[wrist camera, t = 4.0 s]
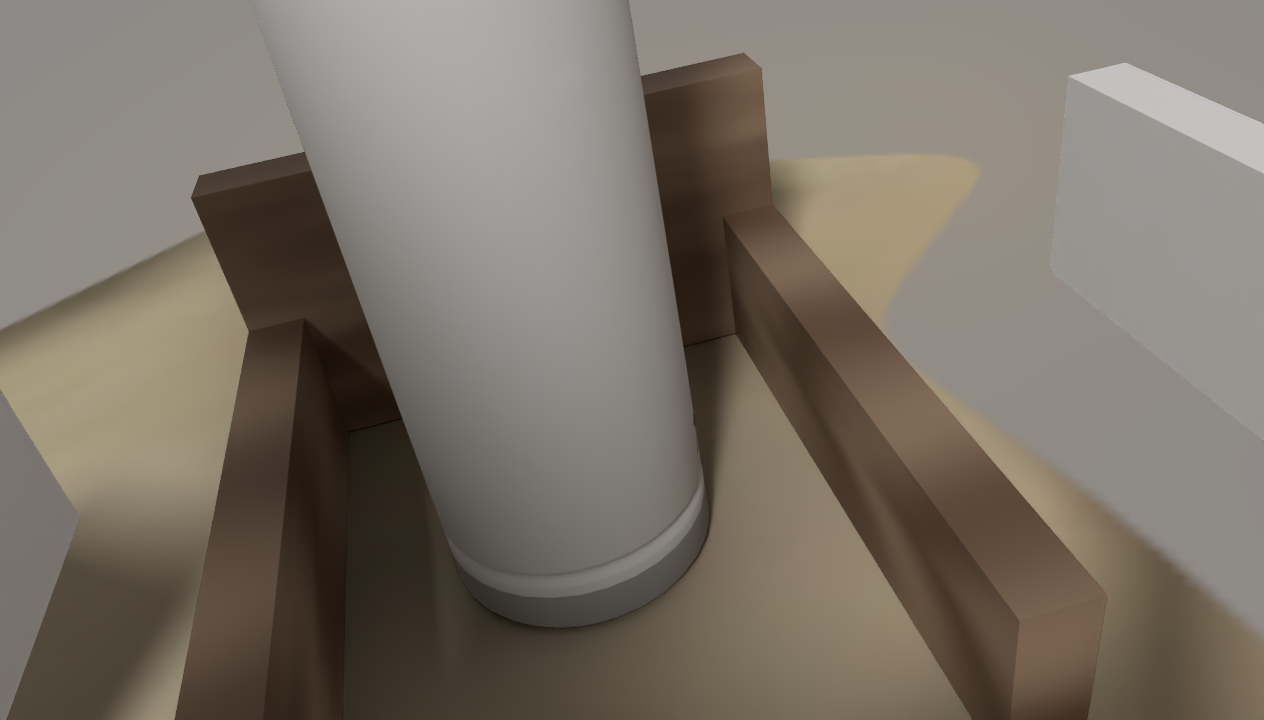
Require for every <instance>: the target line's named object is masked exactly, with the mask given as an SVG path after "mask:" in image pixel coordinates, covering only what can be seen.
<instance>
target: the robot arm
mask: <svg viewBox="0 0 1264 720" xmlns="http://www.w3.org/2000/svg"><path fill="white" fill-rule="evenodd" d="M1050 271H1051V272H1052V273H1053V274H1054V275H1056V276H1057V277H1058V278H1059V279H1061V280H1062V281H1063V282H1065V283H1066V284H1067V285H1068V286H1069V287H1071V288H1072V289H1073V290H1074V291H1076V292H1077V293H1078V294H1079V295H1081V296H1082V297H1083V298H1084V299H1086V300H1087V301H1088V302H1089V303H1091V304H1092V305H1093V306H1095V307H1096V308H1097V309H1098V310H1100V311H1101V312H1102V313H1103V314H1104V315H1106V316H1107V317H1108V318H1109V319H1111V320H1112V321H1113V322H1114V323H1116V324H1117V325H1118V326H1119V327H1121V328H1122V329H1123V330H1124V331H1126V332H1127V333H1128V334H1129V335H1131V336H1132V337H1133V338H1134V339H1136V340H1137V341H1138V342H1140V343H1141V344H1142V345H1143V346H1145V347H1146V348H1147V349H1148V350H1150V351H1151V352H1152V353H1153V354H1155V355H1156V356H1157V357H1158V358H1160V359H1161V360H1162V361H1163V362H1165V363H1166V364H1167V365H1168V366H1170V367H1171V368H1172V369H1173V370H1175V371H1176V372H1177V373H1178V374H1180V375H1181V376H1182V377H1183V378H1185V379H1186V380H1187V381H1188V382H1190V383H1191V384H1192V385H1193V386H1195V387H1196V388H1197V389H1198V390H1200V391H1201V392H1202V393H1203V394H1205V395H1206V396H1207V397H1208V398H1210V399H1211V400H1212V401H1213V402H1215V403H1216V404H1217V405H1218V406H1220V407H1221V408H1222V409H1223V410H1225V411H1226V412H1227V413H1228V414H1230V415H1231V416H1232V417H1234V418H1235V419H1236V420H1237V421H1239V422H1240V423H1241V424H1242V425H1244V426H1245V427H1246V428H1247V429H1249V430H1250V431H1251V432H1252V433H1253V434H1255V435H1256V436H1257V437H1259V438H1260V439H1261V440H1262V441H1263V442H1264V124H1262V123H1260V122H1258V121H1256V120H1253V119H1251V118H1249V117H1247V116H1244V115H1242V114H1240V113H1238V112H1235V111H1233V110H1231V109H1229V108H1226V107H1224V106H1222V105H1220V104H1217V103H1215V102H1213V101H1211V100H1208V99H1206V98H1204V97H1202V96H1199V95H1197V94H1195V93H1193V92H1190V91H1188V90H1186V89H1184V88H1181V87H1179V86H1177V85H1175V84H1172V83H1170V82H1168V81H1166V80H1163V79H1161V78H1159V77H1156V76H1154V75H1152V74H1150V73H1148V72H1145V71H1143V70H1141V69H1139V68H1136V67H1134V66H1132V65H1130V64H1127V63H1123V64H1118V65H1114V66H1110V67H1105V68H1101V69H1097V70H1092V71H1088V72H1084V73H1080V74H1076V75H1072V76H1068V87H1067V96H1066V107H1065V117H1064V129H1063V140H1062V149H1061V161H1060V171H1059V181H1058V192H1057V202H1056V213H1055V224H1054V235H1053V245H1052V255H1051V267H1050ZM79 519H80V517H79V515H78V514H77V512H76V510H75V509H74V507H73V506H72V504H71V502H70V501H69V499H68V498H67V496H66V494H65V493H64V491H63V490H62V488H61V486H60V485H59V483H58V482H57V480H56V478H55V477H54V475H53V474H52V472H51V470H50V469H49V467H48V466H47V464H46V462H45V461H44V459H43V457H42V456H41V454H40V453H39V451H38V449H37V448H36V446H35V445H34V443H33V441H32V440H31V438H30V437H29V435H28V433H27V432H26V430H25V429H24V427H23V425H22V424H21V422H20V421H19V419H18V417H17V416H16V414H15V413H14V411H13V409H12V408H11V406H10V404H9V403H8V401H7V400H6V398H5V396H4V395H3V393H2V392H1V390H0V720H7V717H8V714H9V711H10V709H11V706H12V703H13V700H14V698H15V695H16V692H17V689H18V687H19V684H20V681H21V678H22V676H23V673H24V670H25V667H26V665H27V662H28V659H29V656H30V654H31V651H32V648H33V646H34V643H35V640H36V637H37V635H38V632H39V629H40V626H41V624H42V621H43V618H44V615H45V613H46V610H47V607H48V604H49V602H50V599H51V596H52V593H53V591H54V588H55V585H56V582H57V580H58V577H59V574H60V572H61V569H62V566H63V563H64V561H65V558H66V555H67V552H68V550H69V547H70V544H71V541H72V539H73V536H74V533H75V530H76V528H77V525H78V522H79Z"/></svg>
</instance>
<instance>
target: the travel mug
mask: <svg viewBox="0 0 1264 720" xmlns="http://www.w3.org/2000/svg"><path fill="white" fill-rule="evenodd" d="M249 1H250V4H251V6H252V9H253V12H254V15H255V17H256V20H257V23H258V25H259V28H260V31H261V34H262V36H263V39H264V42H265V45H266V47H267V50H268V53H269V56H270V58H271V61H272V63H273V66H274V69H275V72H276V74H277V77H278V80H279V83H280V85H281V88H282V91H283V94H284V96H285V99H286V102H287V105H288V107H289V110H290V113H291V116H292V118H293V121H294V124H295V126H296V129H297V132H298V135H299V137H300V140H301V143H302V145H303V148H304V151H305V154H306V157H307V159H308V162H309V165H310V167H311V170H312V173H313V176H314V178H315V181H316V184H317V187H318V189H319V192H320V195H321V197H322V200H323V203H324V206H325V208H326V211H327V214H328V217H329V219H330V222H331V225H332V227H333V230H334V233H335V236H336V238H337V241H338V244H339V247H340V249H341V252H342V255H343V258H344V260H345V263H346V266H347V268H348V271H349V274H350V277H351V279H352V282H353V285H354V288H355V290H356V293H357V296H358V298H359V301H360V304H361V307H362V309H363V312H364V315H365V318H366V320H367V323H368V326H369V328H370V331H371V334H372V337H373V339H374V342H375V345H376V348H377V350H378V353H379V356H380V358H381V361H382V364H383V367H384V369H385V372H386V375H387V378H388V380H389V383H390V386H391V389H392V391H393V394H394V397H395V399H396V402H397V405H398V408H399V410H400V413H401V416H402V419H403V421H404V424H405V427H406V429H407V432H408V435H409V438H410V440H411V443H412V446H413V449H414V451H415V454H416V457H417V459H418V462H419V465H420V468H421V470H422V473H423V476H424V479H425V481H426V484H427V487H428V490H429V492H430V495H431V498H432V500H433V503H434V506H435V509H436V511H437V514H438V517H439V520H440V522H441V525H442V528H443V530H444V533H445V536H446V539H447V541H448V544H449V547H450V550H451V552H452V555H453V558H454V560H455V563H456V566H457V569H458V571H459V574H460V577H461V580H462V582H463V584H464V585H465V586H466V588H467V589H468V590H469V592H470V593H471V594H472V596H473V597H474V598H475V599H476V600H478V601H479V602H480V603H481V604H483V605H484V606H485V607H486V608H488V609H489V610H491V611H493V612H495V613H497V614H499V615H501V616H504V617H506V618H508V619H510V620H512V621H516V622H520V623H524V624H529V625H533V626H538V627H556V628H566V627H576V626H586V625H592V624H595V623H599V622H603V621H607V620H611V619H615V618H617V617H620V616H622V615H624V614H627V613H629V612H631V611H634V610H636V609H638V608H641V607H642V606H644V605H646V604H647V603H649V602H650V601H652V600H654V599H655V598H657V597H658V596H660V595H662V594H663V593H664V592H665V591H666V590H667V589H669V588H670V587H671V586H672V585H673V584H674V583H675V582H676V581H678V580H679V579H680V578H681V577H682V575H683V574H684V573H685V572H686V570H687V569H688V568H689V566H690V565H691V564H692V562H693V561H694V560H695V558H696V557H697V555H698V553H699V551H700V549H701V547H702V545H703V542H704V540H705V538H706V533H707V528H708V523H709V511H708V500H707V494H706V488H705V481H704V475H703V469H702V464H701V462H700V450H699V443H698V437H697V431H696V424H695V418H694V412H693V405H692V399H691V393H690V386H689V380H688V374H687V367H686V361H685V355H684V348H683V342H682V336H681V329H680V323H679V317H678V310H677V304H676V298H675V291H674V285H673V279H672V272H671V266H670V260H669V253H668V247H667V241H666V234H665V228H664V221H663V215H662V209H661V202H660V196H659V190H658V183H657V177H656V171H655V164H654V158H653V152H652V145H651V139H650V133H649V126H648V120H647V114H646V107H645V101H644V95H643V88H642V82H641V76H640V69H639V63H638V57H637V50H636V44H635V38H634V31H633V25H632V19H631V13H630V6H629V0H249Z"/></svg>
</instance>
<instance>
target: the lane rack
mask: <svg viewBox="0 0 1264 720" xmlns="http://www.w3.org/2000/svg"><path fill="white" fill-rule="evenodd" d="M641 82H642V88H643V95H644V101H645V107H646V114H647V120H648V126H649V133H650V139H651V145H652V152H653V158H654V164H655V171H656V177H657V183H658V190H659V196H660V202H661V209H662V215H663V221H664V228H665V234H666V241H667V247H668V253H669V260H670V266H671V272H672V279H673V285H674V291H675V298H676V304H677V310H678V317H679V323H680V329H681V336H682V342H683V346H687V345H691V344H695V343H699V342H702V341H706V340H710V339H714V338H718V337H722V336H726V335H730V334H734V333H736V335H737V336H738V338H739V340H740V341H741V343H742V344H743V346H744V348H745V349H746V351H747V353H748V354H749V356H750V357H751V359H752V361H753V362H754V364H755V366H756V367H757V369H758V370H759V372H760V374H761V375H762V377H763V379H764V380H765V382H766V383H767V385H768V387H769V388H770V390H771V392H772V393H773V395H774V396H775V398H776V400H777V401H778V403H779V405H780V406H781V408H782V410H783V411H784V413H785V414H786V416H787V418H788V419H789V421H790V423H791V424H792V426H793V427H794V429H795V431H796V432H797V434H798V436H799V437H800V439H801V440H802V442H803V444H804V445H805V447H806V449H807V450H808V452H809V453H810V455H811V457H812V458H813V460H814V462H815V463H816V465H817V467H818V468H819V470H820V471H821V473H822V475H823V476H824V478H825V480H826V481H827V483H828V484H829V486H830V488H831V489H832V491H833V493H834V494H835V496H836V497H837V499H838V501H839V502H840V504H841V506H842V507H843V509H844V510H845V512H846V514H847V515H848V517H849V519H850V520H851V522H852V523H853V525H854V527H855V528H856V530H857V532H858V533H859V535H860V537H861V538H862V540H863V541H864V543H865V545H866V546H867V548H868V550H869V551H870V553H871V554H872V556H873V558H874V559H875V561H876V563H877V564H878V566H879V567H880V569H881V571H882V572H883V574H884V576H885V577H886V579H887V580H888V582H889V584H890V585H891V587H892V589H893V590H894V592H895V594H896V595H897V597H898V598H899V600H900V602H901V603H902V605H903V607H904V608H905V610H906V611H907V613H908V615H909V616H910V618H911V620H912V621H913V623H914V624H915V626H916V628H917V629H918V631H919V633H920V634H921V636H922V637H923V639H924V641H925V642H926V644H927V646H928V647H929V649H930V650H931V652H932V654H933V655H934V657H935V659H936V660H937V662H938V664H939V665H940V667H941V668H942V670H943V672H944V673H945V675H946V677H947V678H948V680H949V681H950V683H951V685H952V686H953V688H954V690H955V691H956V693H957V694H958V696H959V698H960V699H961V701H962V703H963V704H964V706H965V707H966V709H967V711H968V712H969V714H970V716H971V717H972V719H973V720H1087V717H1088V711H1089V705H1090V699H1091V692H1092V686H1093V680H1094V674H1095V668H1096V662H1097V656H1098V650H1099V644H1100V638H1101V632H1102V625H1103V619H1104V613H1105V607H1106V601H1107V594H1106V593H1105V592H1104V590H1103V589H1102V588H1101V587H1100V586H1099V585H1098V583H1097V582H1096V581H1095V580H1094V579H1093V578H1092V577H1091V575H1090V574H1089V573H1088V572H1087V571H1086V570H1085V568H1084V567H1083V566H1082V565H1081V564H1080V563H1079V561H1078V560H1077V559H1076V558H1075V557H1074V556H1073V554H1072V553H1071V552H1070V551H1069V550H1068V549H1067V547H1066V546H1065V545H1064V544H1063V543H1062V542H1061V540H1060V539H1059V538H1058V537H1057V536H1056V535H1055V533H1054V532H1053V531H1052V530H1051V529H1050V528H1049V526H1048V525H1047V524H1046V523H1045V522H1044V521H1043V519H1042V518H1041V517H1040V516H1039V515H1038V514H1037V512H1036V511H1035V510H1034V509H1033V508H1032V507H1031V505H1030V504H1029V503H1028V502H1027V501H1026V500H1025V498H1024V497H1023V496H1022V495H1021V494H1020V493H1019V491H1018V490H1017V489H1016V488H1015V487H1014V486H1013V484H1012V483H1011V482H1010V481H1009V480H1008V479H1007V477H1006V476H1005V475H1004V474H1003V473H1002V472H1001V470H1000V469H999V468H998V467H997V466H996V465H995V463H994V462H993V461H992V460H991V459H990V458H989V456H988V455H987V454H986V453H985V452H984V451H983V449H982V448H981V447H980V446H979V445H978V444H977V442H976V441H975V440H974V439H973V438H972V437H971V435H970V434H969V433H968V432H967V431H966V430H965V428H964V427H963V426H962V425H961V424H960V423H959V421H958V420H957V419H956V418H955V417H954V416H953V414H952V413H951V412H950V411H949V410H948V409H947V407H946V406H945V405H944V404H943V403H942V402H941V400H940V399H939V398H938V397H937V396H936V395H935V393H934V392H933V391H932V390H931V389H930V388H929V386H928V385H927V384H926V383H925V382H924V381H923V379H922V378H921V377H920V376H919V375H918V374H917V372H916V371H915V370H914V369H913V368H912V367H911V365H910V364H909V363H908V362H907V361H906V360H905V358H904V357H903V356H902V355H901V354H900V353H899V351H898V350H897V349H896V348H895V347H894V346H893V344H892V343H891V342H890V341H889V340H888V339H887V337H886V336H885V335H884V334H883V333H882V332H881V330H880V329H879V328H878V327H877V326H876V325H875V323H874V322H873V321H872V320H871V319H870V318H869V316H868V315H867V314H866V313H865V312H864V311H863V309H862V308H861V307H860V306H859V305H858V304H857V302H856V301H855V300H854V299H853V298H852V297H851V295H850V294H849V293H848V292H847V291H846V290H845V288H844V287H843V286H842V285H841V284H840V283H839V281H838V280H837V279H836V278H835V277H834V276H833V274H832V273H831V272H830V271H829V270H828V269H827V267H826V266H825V265H824V264H823V263H822V262H821V260H820V259H819V258H818V257H817V256H816V255H815V253H814V252H813V251H812V250H811V249H810V248H809V246H808V245H807V244H806V243H805V242H804V241H803V240H802V238H801V237H800V236H799V235H798V234H797V233H796V231H795V230H794V229H793V228H792V227H791V226H790V224H789V223H788V222H787V221H786V220H785V219H784V217H783V216H782V215H781V214H780V213H779V212H778V210H777V209H776V208H775V207H774V206H773V205H772V193H771V181H770V168H769V156H768V144H767V131H766V118H765V107H764V93H763V82H762V68H761V67H759V65H757V64H756V63H755V62H754V61H753V60H751V59H750V58H749V57H748V56H747V55H745V54H744V53H742V54H737V55H732V56H728V57H724V58H719V59H715V60H710V61H706V62H702V63H697V64H693V65H689V66H684V67H679V68H675V69H671V70H666V71H662V72H658V73H653V74H648V75H644V76H641ZM191 199H192V201H193V203H194V206H195V208H196V210H197V213H198V215H199V217H200V220H201V222H202V224H203V226H204V229H205V231H206V233H207V236H208V238H209V240H210V243H211V245H212V247H213V250H214V252H215V254H216V257H217V259H218V261H219V263H220V266H221V268H222V270H223V273H224V275H225V277H226V280H227V282H228V284H229V286H230V289H231V291H232V293H233V296H234V298H235V300H236V303H237V305H238V307H239V310H240V312H241V314H242V316H243V319H244V321H245V323H246V326H247V328H248V330H249V334H248V339H247V344H246V349H245V355H244V360H243V365H242V370H241V375H240V381H239V386H238V391H237V396H236V402H235V407H234V412H233V417H232V423H231V428H230V433H229V438H228V443H227V449H226V454H225V459H224V464H223V470H222V475H221V480H220V485H219V491H218V496H217V501H216V506H215V511H214V517H213V522H212V527H211V532H210V538H209V543H208V548H207V553H206V559H205V564H204V569H203V574H202V580H201V585H200V590H199V595H198V600H197V606H196V611H195V616H194V621H193V627H192V632H191V637H190V642H189V648H188V653H187V658H186V663H185V668H184V674H183V679H182V684H181V689H180V695H179V700H178V705H177V710H176V716H175V720H342V716H343V671H344V625H345V579H346V534H347V488H348V443H349V432H350V431H354V430H358V429H362V428H366V427H369V426H373V425H377V424H381V423H385V422H389V421H393V420H397V419H401V418H402V416H401V413H400V410H399V408H398V405H397V402H396V399H395V397H394V394H393V391H392V389H391V386H390V383H389V380H388V378H387V375H386V372H385V369H384V367H383V364H382V361H381V358H380V356H379V353H378V350H377V348H376V345H375V342H374V339H373V337H372V334H371V331H370V328H369V326H368V323H367V320H366V318H365V315H364V312H363V309H362V307H361V304H360V301H359V298H358V296H357V293H356V290H355V288H354V285H353V282H352V279H351V277H350V274H349V271H348V268H347V266H346V263H345V260H344V258H343V255H342V252H341V249H340V247H339V244H338V241H337V238H336V236H335V233H334V230H333V227H332V225H331V222H330V219H329V217H328V214H327V211H326V208H325V206H324V203H323V200H322V197H321V195H320V192H319V189H318V187H317V184H316V181H315V178H314V176H313V173H312V170H311V167H310V165H309V162H308V159H307V157H306V154H305V152H302V153H298V154H293V155H289V156H285V157H280V158H276V159H272V160H267V161H263V162H258V163H253V164H249V165H245V166H240V167H236V168H232V169H227V170H222V171H218V172H214V173H209V174H205V175H201V176H199V178H198V180H197V183H196V186H195V189H194V191H193V194H192V197H191Z"/></svg>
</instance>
